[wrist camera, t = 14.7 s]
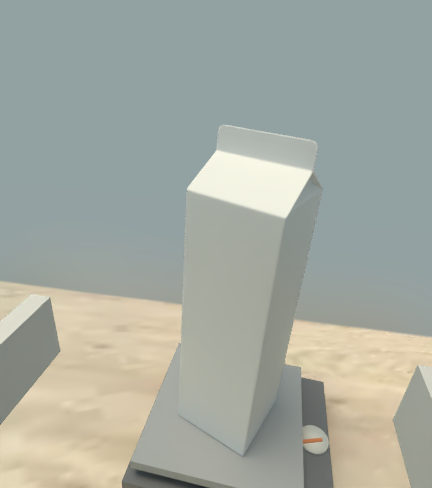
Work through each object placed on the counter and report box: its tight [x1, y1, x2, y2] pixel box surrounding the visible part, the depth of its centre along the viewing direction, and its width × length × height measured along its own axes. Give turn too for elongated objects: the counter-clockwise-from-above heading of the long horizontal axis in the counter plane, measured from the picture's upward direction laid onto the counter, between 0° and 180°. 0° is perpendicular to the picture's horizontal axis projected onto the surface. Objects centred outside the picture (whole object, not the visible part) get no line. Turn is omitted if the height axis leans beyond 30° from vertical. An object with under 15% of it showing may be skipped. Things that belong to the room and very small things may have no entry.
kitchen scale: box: [122, 343, 333, 488], centre depth 30 cm, size 15×13×4 cm
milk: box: [178, 125, 323, 456], centre depth 24 cm, size 6×6×22 cm
